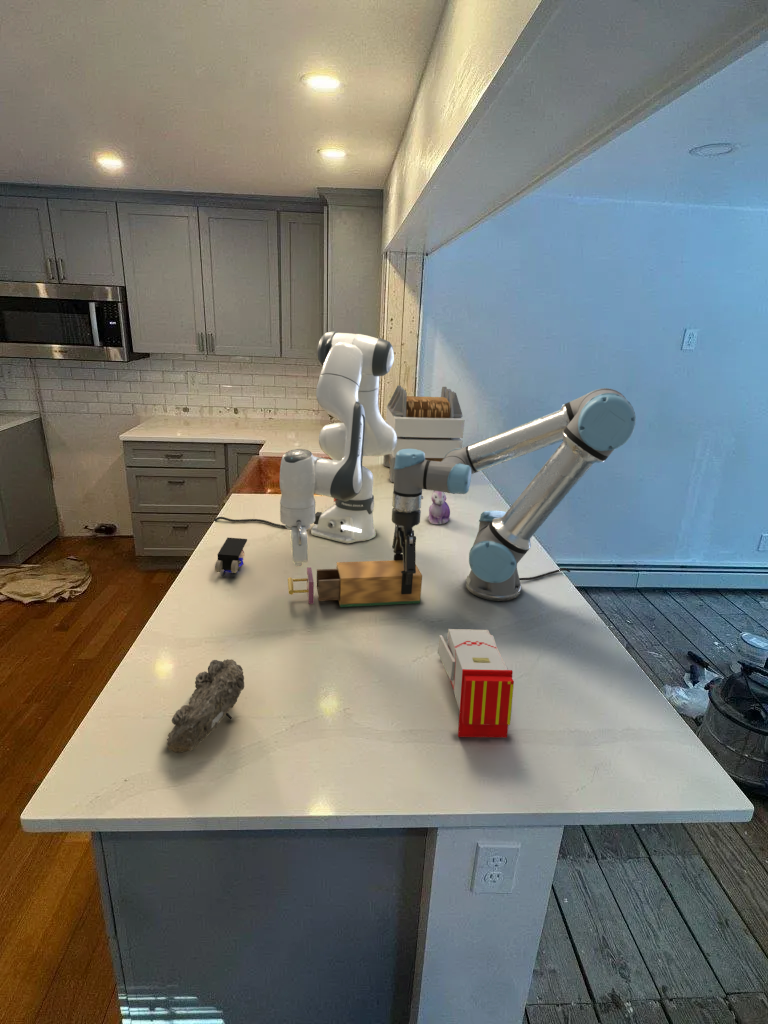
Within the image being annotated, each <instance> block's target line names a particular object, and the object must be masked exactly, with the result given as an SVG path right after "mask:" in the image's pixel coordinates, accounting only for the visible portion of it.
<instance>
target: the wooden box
mask: <svg viewBox="0 0 768 1024" xmlns="http://www.w3.org/2000/svg"><path fill="white" fill-rule="evenodd" d="M335 569H338V573H339V577H340V600H337V601H338V604H339V608H347V607H348V608H351V607H371V606H373V607H374V606H391V605H411V604H421V595H422V584H423V583H422V582H423V574H422V572H421V571H420V569H419V567H418V565H417V564H416V573H415V574H413V580H412V594H401V586H402V573H401V571H403V570H404V567H403V560H394V559H393V560H365V561H364V560H363V561H337V562H336V568H335Z"/></svg>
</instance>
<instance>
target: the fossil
mask: <svg viewBox="0 0 768 1024" xmlns="http://www.w3.org/2000/svg"><path fill="white" fill-rule="evenodd" d="M243 670H244V669H243V667H242V665H240V664H237V662H236V661H235V660H234V659H232V658H231V659H227V658H226V659H224V660H223V661H222V660H217V659H212V660H211V661H210V663H209V665H208V666H207V671H201V672H199V673H198V674H197V675H196V676H195V680H194V684H195V685H194V687H195V689H194V690H193V693H192V694H191V697H190V698H189V700H188V704H184V705H182V706H181V707H180V709H177V710H176V711H175V713H174V715H173V716H172V718H171V723H172V724H173V727H172V730H171V731H170V732H168V734H167V738H166V741H167V742H166V745H167V749H168V750H169V751H173V752H174V753H176V754H178V753H182V752H188V751H189V752H192V751H193V750H195V748H196V747H197V746H199V744H200V743H201V742H203V741H204V740H205V739H206V738H207V737H208V736H209V735H210V734H211V733H212V732H214V730H215V729H217V727H218V726H219V724H220V722H221V721H222V720H223V719H224V718H225V716H226V717H227V719H229V720H233V717H232V715H230V714H229V710H230V709H231V708H234V706H235V704H236V703H237V702H238V699H239V697H240V695H241V693H242V691H243V690H245V689H244V688H245V675H244V671H243Z"/></svg>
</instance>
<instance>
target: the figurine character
mask: <svg viewBox="0 0 768 1024" xmlns="http://www.w3.org/2000/svg"><path fill="white" fill-rule="evenodd" d="M247 542H248V538H240V537H226V539H225V541H224V543H223V544H222V546H221V547H220V549H219V551H218V552H217V560H216V562H215V564H214V572H215V573H221V577H222V578H224V577H225V576H226V574H227V573H230V574H231V573H232V574H231V578H234V577H235V575H236V573H237V572H239V571H240V567H242V566H243V565H244V564H245V562H244V558H245V551H244V547H245V546H246V544H247Z"/></svg>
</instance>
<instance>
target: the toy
mask: <svg viewBox="0 0 768 1024" xmlns="http://www.w3.org/2000/svg"><path fill="white" fill-rule="evenodd" d="M446 640H447V643H446V641H445V639H444V636H443V635H442V634H439V637H438V646H437V656H438V657H439V659H440V661H441V663H442V666H443V668H444V670H445V672H446V674H447V677H448V679H449V681H450V684H451V687H452V690H453V693H454V697H455V701H456V705H457V708H458V711H459V714H458V715H459V716H458V730H457V731H458V732H457V737H458V738H508V731H509V726H510V725H511V717H512V707H513V697H514V696H513V695H514V684H515V680H514V679H513V673H514V671H513V670H512V669H508V667H507V665H506V662H505V661H504V659H503V658H502V655H501V653H500V651H499V649H498V647H497V643H496V639H495V637H494V635H493V634H491V632H490V631H489V629H467V628H466V629H465V628H463V629H461V628H460V629H459V628H448V630H447V639H446Z"/></svg>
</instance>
